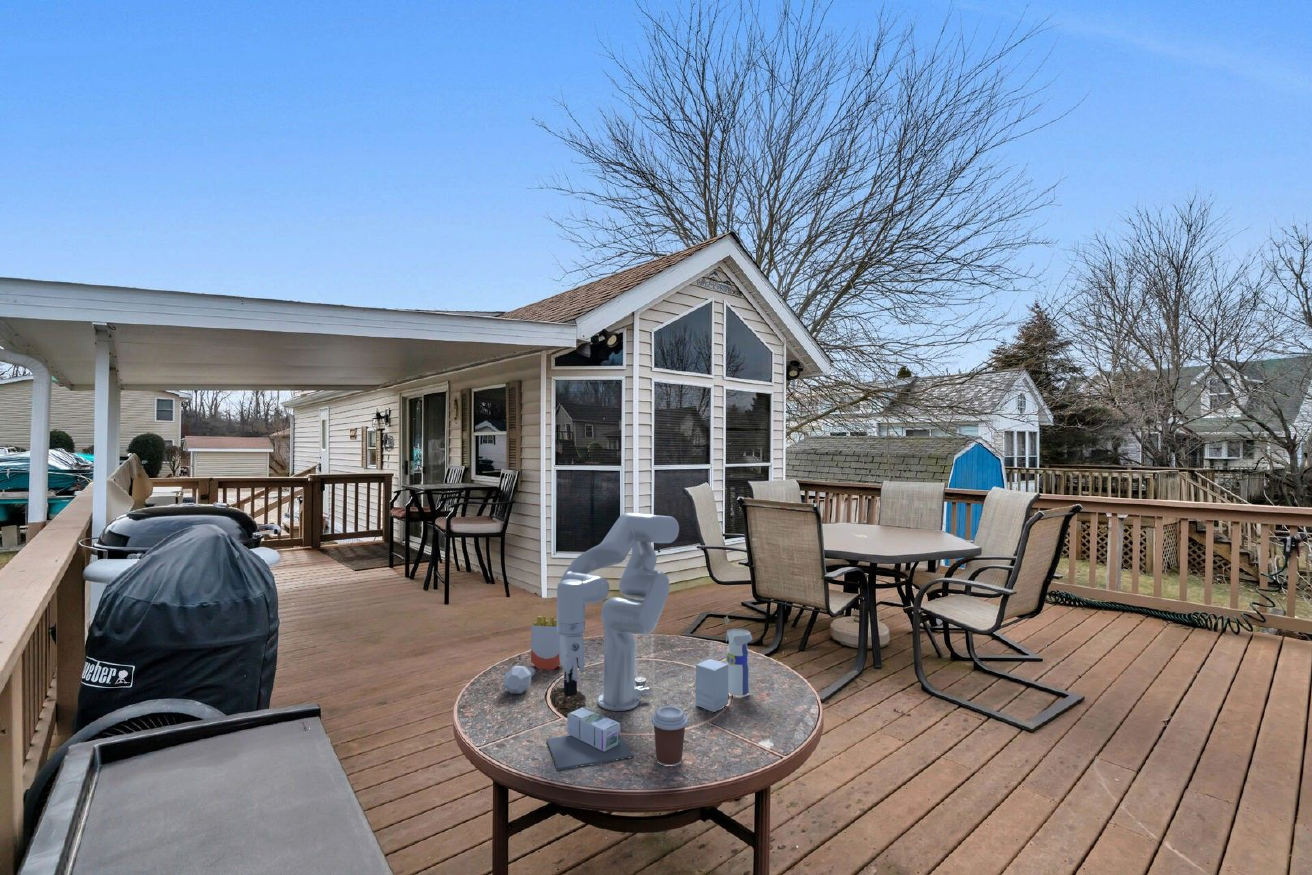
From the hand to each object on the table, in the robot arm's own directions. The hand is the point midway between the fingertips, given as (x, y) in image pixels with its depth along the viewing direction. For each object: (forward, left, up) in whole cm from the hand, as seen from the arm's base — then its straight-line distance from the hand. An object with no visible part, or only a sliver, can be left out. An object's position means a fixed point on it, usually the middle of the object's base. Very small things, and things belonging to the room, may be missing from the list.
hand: (570, 694), depth 161 cm
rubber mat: (-3, +9, -11) cm, 14 cm away
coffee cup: (-21, +21, -11) cm, 31 cm away
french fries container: (-4, -51, -11) cm, 53 cm away
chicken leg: (+7, -37, -11) cm, 39 cm away
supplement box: (-45, -4, -11) cm, 46 cm away
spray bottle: (-57, -10, -11) cm, 59 cm away
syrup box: (-1, -1, -7) cm, 7 cm away
